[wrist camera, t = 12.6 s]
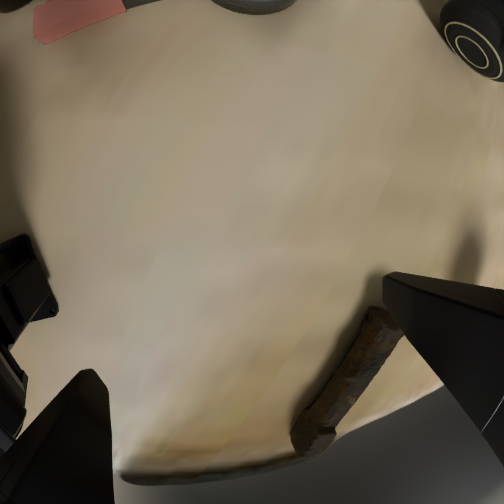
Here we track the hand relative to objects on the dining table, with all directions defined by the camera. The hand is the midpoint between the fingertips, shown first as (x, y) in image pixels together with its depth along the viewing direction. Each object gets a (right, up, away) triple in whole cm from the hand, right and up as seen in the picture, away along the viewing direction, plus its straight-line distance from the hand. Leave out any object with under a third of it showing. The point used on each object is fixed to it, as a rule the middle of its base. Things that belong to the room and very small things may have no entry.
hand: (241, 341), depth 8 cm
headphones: (+21, +25, +8) cm, 33 cm away
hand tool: (+9, -11, +19) cm, 23 cm away
